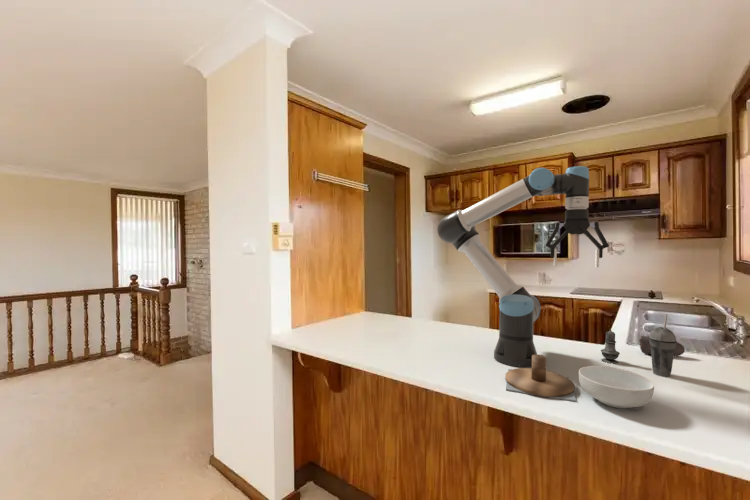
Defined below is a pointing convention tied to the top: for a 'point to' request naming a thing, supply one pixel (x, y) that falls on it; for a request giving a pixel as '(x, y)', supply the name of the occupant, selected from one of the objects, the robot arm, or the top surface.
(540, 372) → the lid
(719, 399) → the top surface
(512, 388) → the mat
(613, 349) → the salt shaker
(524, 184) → the robot arm
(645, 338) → the perforated stone tool
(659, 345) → the beverage cup
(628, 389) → the cereal bowl
